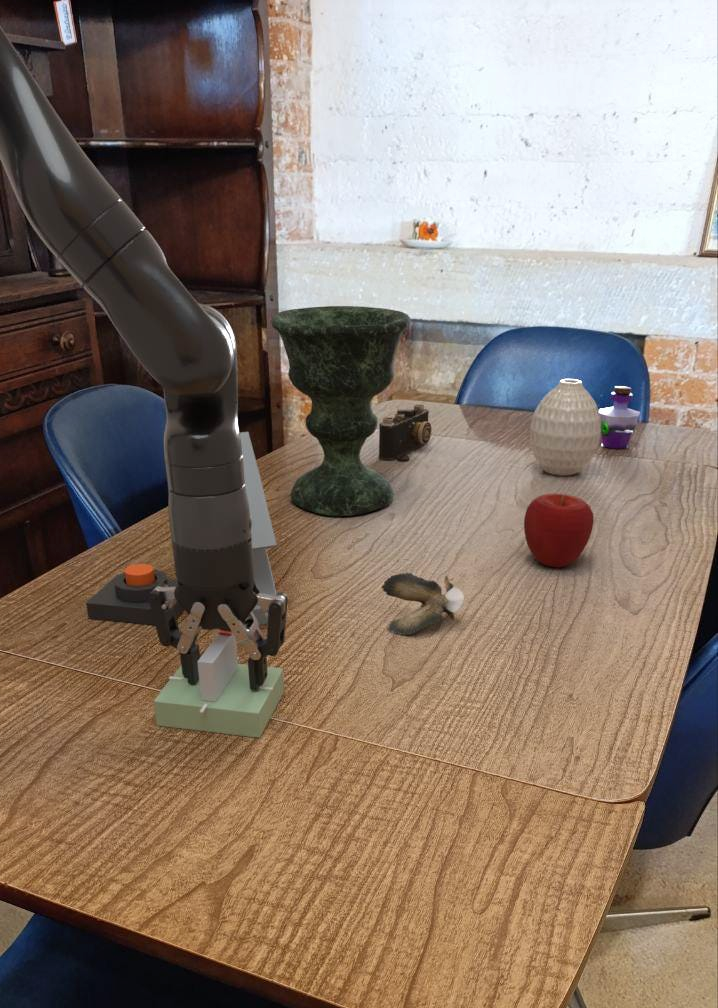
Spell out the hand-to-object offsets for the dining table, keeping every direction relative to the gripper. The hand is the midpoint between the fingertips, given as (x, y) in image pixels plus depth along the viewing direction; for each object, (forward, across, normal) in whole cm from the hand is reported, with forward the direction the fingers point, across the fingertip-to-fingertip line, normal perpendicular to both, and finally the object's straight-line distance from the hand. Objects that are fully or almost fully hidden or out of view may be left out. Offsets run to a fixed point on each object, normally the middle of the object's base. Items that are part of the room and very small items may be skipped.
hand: (226, 682), depth 91 cm
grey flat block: (0, -1, 0) cm, 1 cm away
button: (-1, -19, +21) cm, 28 cm away
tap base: (+3, -1, 0) cm, 3 cm away
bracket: (+3, -11, +32) cm, 34 cm away
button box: (+3, -19, +21) cm, 28 cm away
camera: (+3, +4, +99) cm, 99 cm away
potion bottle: (+4, +45, +112) cm, 121 cm away
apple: (+4, +33, +47) cm, 58 cm away
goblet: (+3, -3, +68) cm, 68 cm away
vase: (+4, +34, +92) cm, 98 cm away
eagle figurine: (+4, +17, +24) cm, 30 cm away
